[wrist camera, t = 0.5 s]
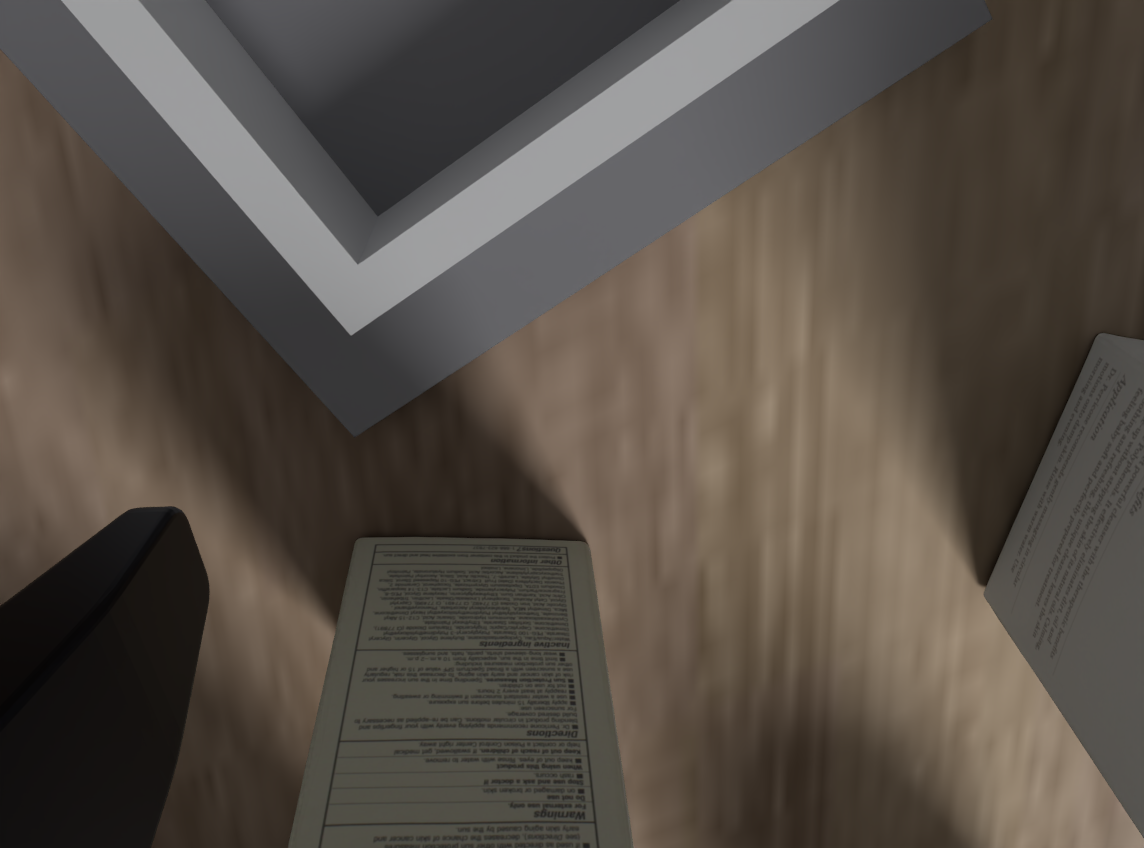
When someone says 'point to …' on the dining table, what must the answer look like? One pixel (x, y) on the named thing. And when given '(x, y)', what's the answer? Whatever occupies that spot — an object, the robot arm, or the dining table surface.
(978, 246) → the dining table surface
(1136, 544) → the skincare box
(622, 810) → the skincare box
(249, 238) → the socket stand
